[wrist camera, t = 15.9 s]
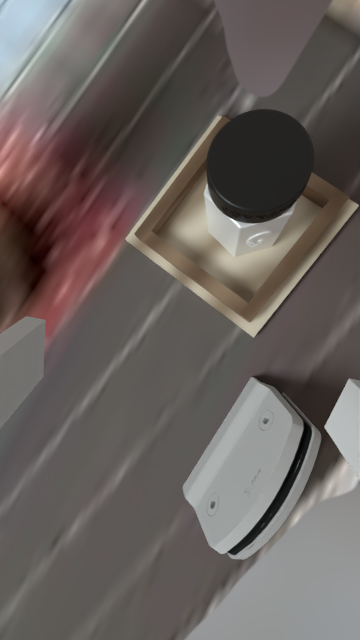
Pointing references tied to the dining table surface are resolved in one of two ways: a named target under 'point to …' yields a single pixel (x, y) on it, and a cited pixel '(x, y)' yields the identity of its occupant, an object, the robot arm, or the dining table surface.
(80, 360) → the dining table surface
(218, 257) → the jar stand
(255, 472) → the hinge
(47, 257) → the dining table surface
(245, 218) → the jar
